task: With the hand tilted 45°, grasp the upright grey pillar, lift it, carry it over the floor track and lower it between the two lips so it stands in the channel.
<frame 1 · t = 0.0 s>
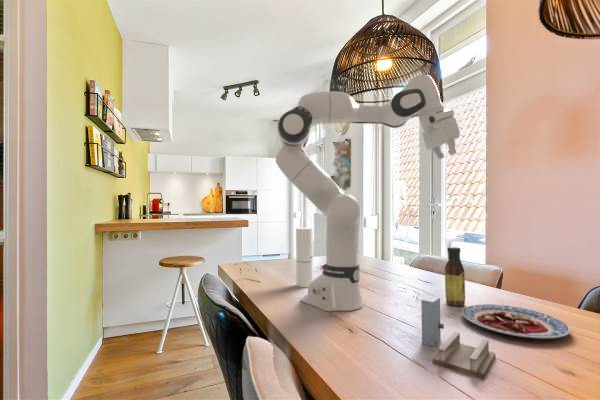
hand: (447, 156, 111), 52 cm above the table, tool tilted 20°, fingers open, 8 cm apart
upright grey pillar: (431, 341, 81), on the table
floor track: (464, 359, 71), on the table
ceramic plate: (512, 326, 91), on the table
cylindrical container: (304, 286, 137), on the table
sauce bottle: (455, 304, 110), on the table
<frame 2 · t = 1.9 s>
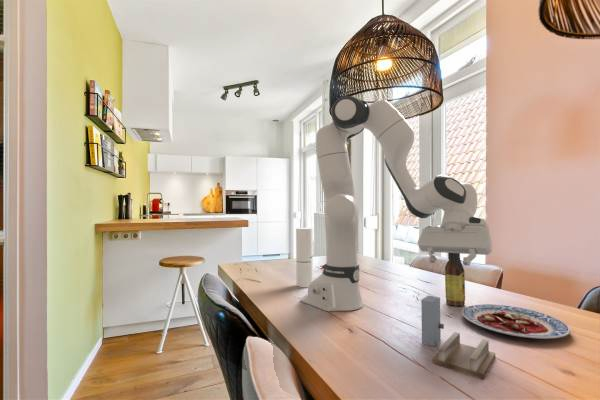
hand: (448, 263, 91), 18 cm above the table, tool tilted 45°, fingers open, 8 cm apart
nothing on the table moved.
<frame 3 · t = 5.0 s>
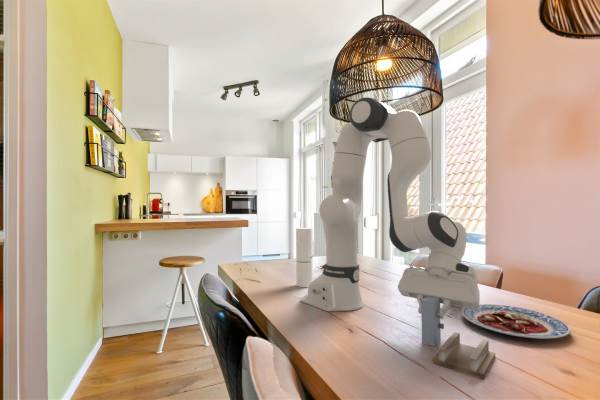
hand: (430, 315, 80), 7 cm above the table, tool tilted 45°, fingers closed on upright grey pillar, 3 cm apart
upright grey pillar: (431, 341, 81), on the table, touching gripper
everything else where it was.
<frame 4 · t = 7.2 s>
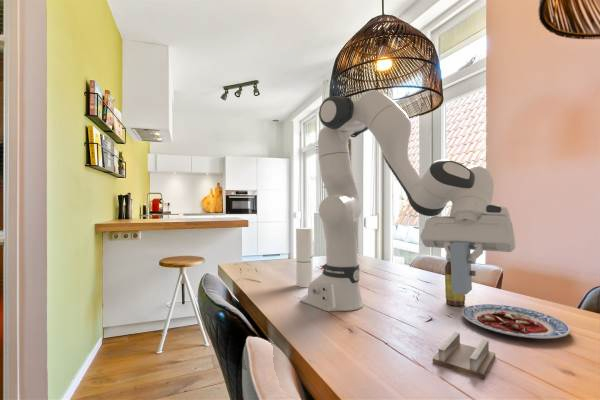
hand: (460, 261, 72), 22 cm above the table, tool tilted 45°, fingers closed on upright grey pillar, 3 cm apart
upright grey pillar: (462, 290, 72), point 15 cm above the table, touching gripper
everything else where it was.
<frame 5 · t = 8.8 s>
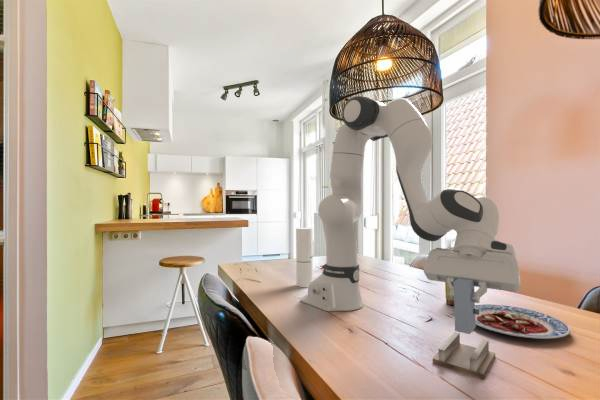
hand: (463, 299, 71), 14 cm above the table, tool tilted 45°, fingers closed on upright grey pillar, 3 cm apart
upright grey pillar: (465, 329, 71), point 7 cm above the table, touching gripper
everything else where it was.
when the fingers open (9 cm above the table, at t = 9.9 s): upright grey pillar drops 1 cm, resting on floor track.
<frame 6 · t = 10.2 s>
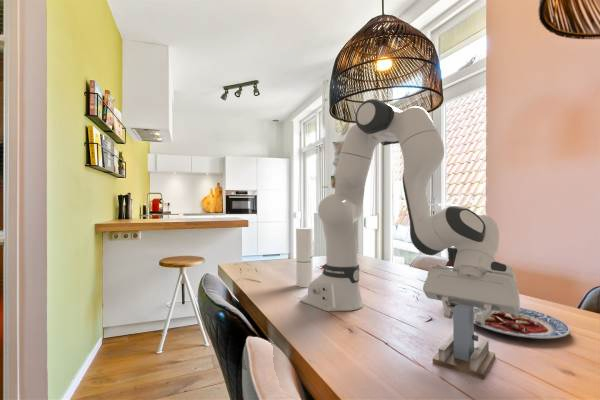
hand: (462, 320, 71), 9 cm above the table, tool tilted 45°, fingers open, 5 cm apart
upright grey pillar: (464, 355, 71), point 1 cm above the table, touching floor track
everything else where it was.
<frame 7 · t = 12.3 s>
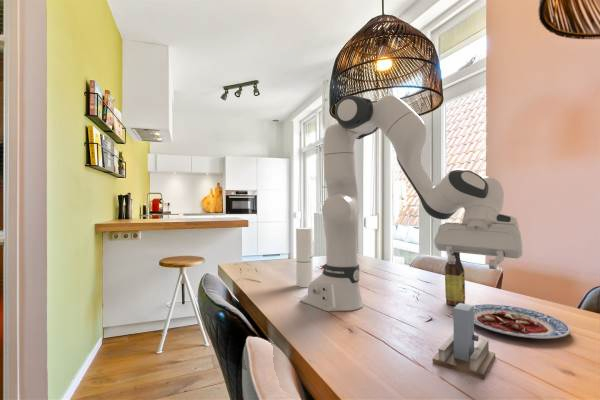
hand: (470, 265, 79), 20 cm above the table, tool tilted 45°, fingers open, 8 cm apart
nothing on the table moved.
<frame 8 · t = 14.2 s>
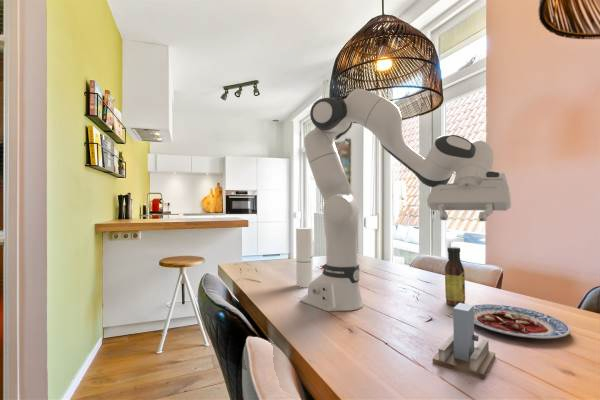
hand: (461, 219, 82), 31 cm above the table, tool tilted 45°, fingers open, 8 cm apart
nothing on the table moved.
at the end: upright grey pillar inside the target area on the floor track (0.0 cm from its centre), point 1.0 cm above the floor track's base; upright grey pillar tilted 0°; the gripper is holding nothing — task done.
